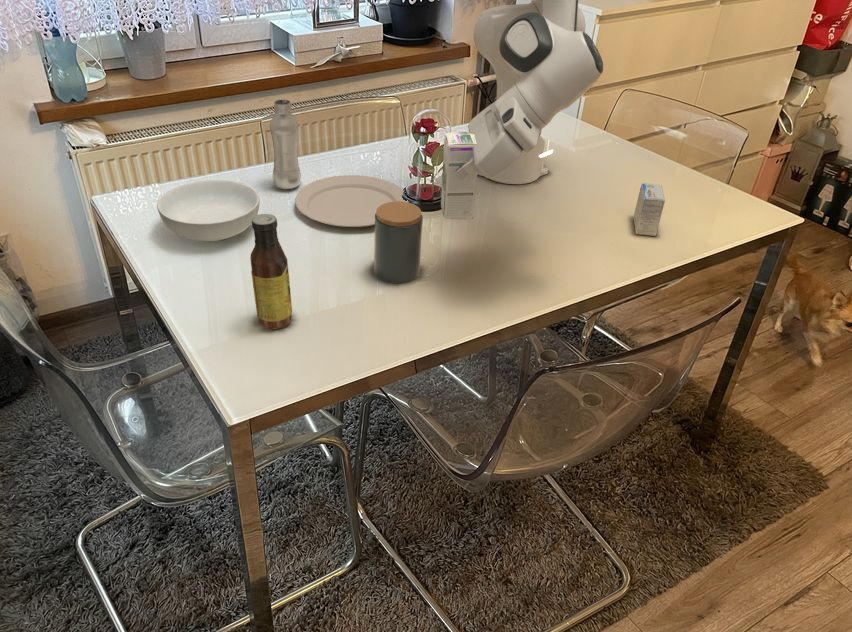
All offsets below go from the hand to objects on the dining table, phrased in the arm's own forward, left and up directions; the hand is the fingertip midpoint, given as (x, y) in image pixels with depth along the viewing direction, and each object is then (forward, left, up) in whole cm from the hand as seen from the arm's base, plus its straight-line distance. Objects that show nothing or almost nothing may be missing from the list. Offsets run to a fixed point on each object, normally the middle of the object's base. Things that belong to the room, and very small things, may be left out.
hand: (456, 167), depth 132 cm
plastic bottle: (-39, -33, -22) cm, 55 cm away
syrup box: (0, +1, -9) cm, 9 cm away
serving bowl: (-18, -48, -22) cm, 56 cm away
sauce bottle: (+16, -33, -22) cm, 43 cm away
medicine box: (-17, +46, -22) cm, 53 cm away
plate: (-28, -18, -22) cm, 40 cm away
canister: (0, -10, -21) cm, 24 cm away
